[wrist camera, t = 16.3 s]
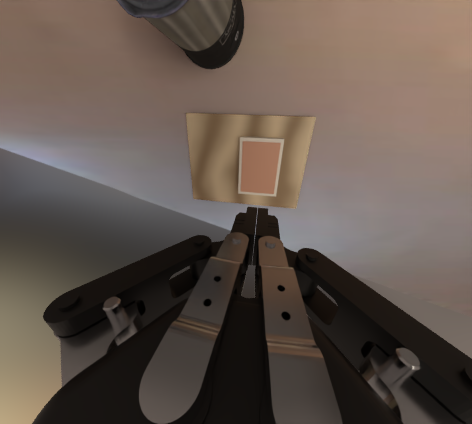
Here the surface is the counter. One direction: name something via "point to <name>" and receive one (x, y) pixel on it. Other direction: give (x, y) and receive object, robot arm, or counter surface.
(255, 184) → the card box
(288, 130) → the mat
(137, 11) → the milk frother
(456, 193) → the counter surface
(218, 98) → the counter surface
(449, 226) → the counter surface
